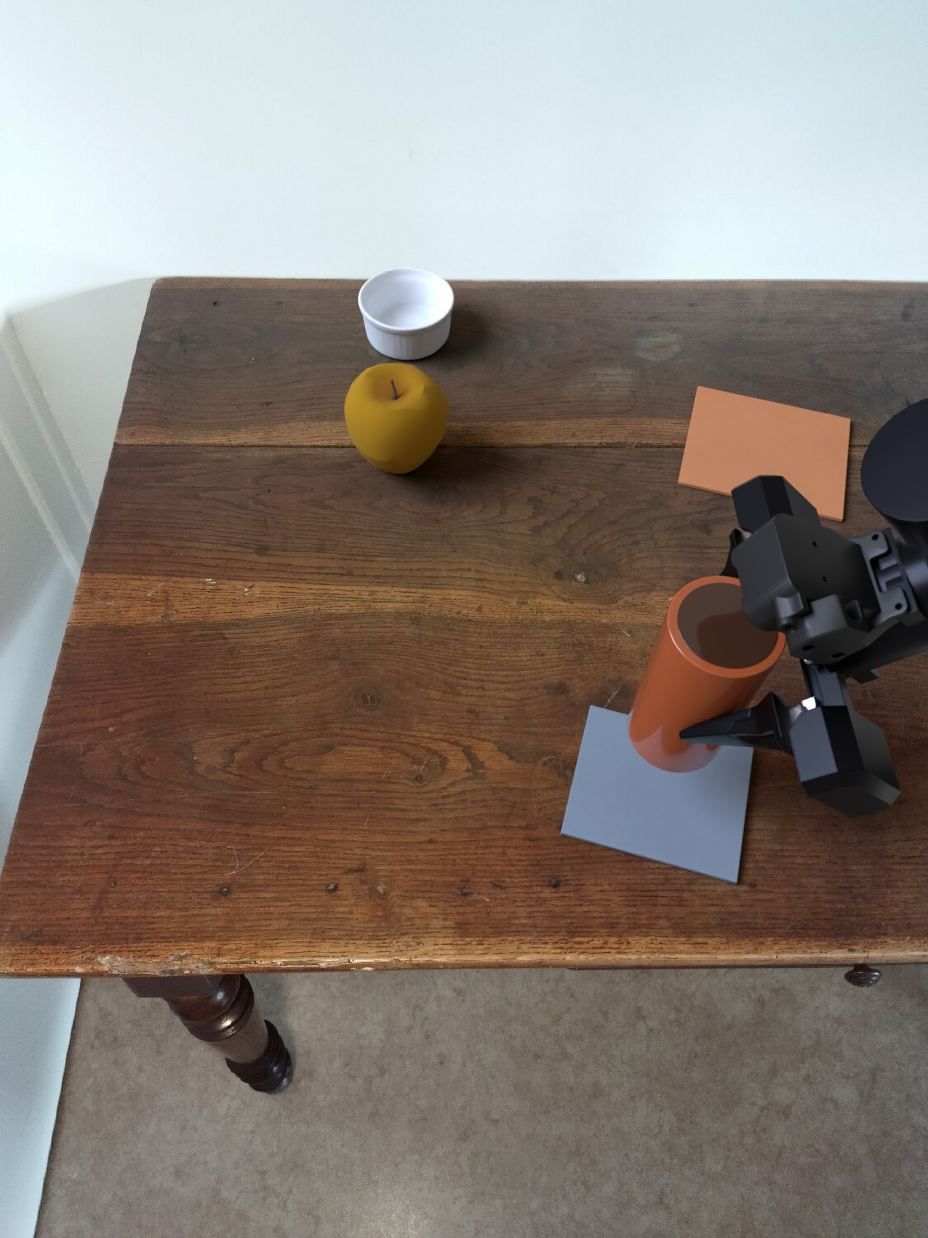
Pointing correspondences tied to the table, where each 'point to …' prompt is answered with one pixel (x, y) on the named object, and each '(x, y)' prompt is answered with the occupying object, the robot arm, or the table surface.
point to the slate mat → (658, 802)
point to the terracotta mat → (766, 448)
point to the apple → (396, 416)
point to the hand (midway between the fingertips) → (673, 686)
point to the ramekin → (406, 312)
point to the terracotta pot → (699, 672)
